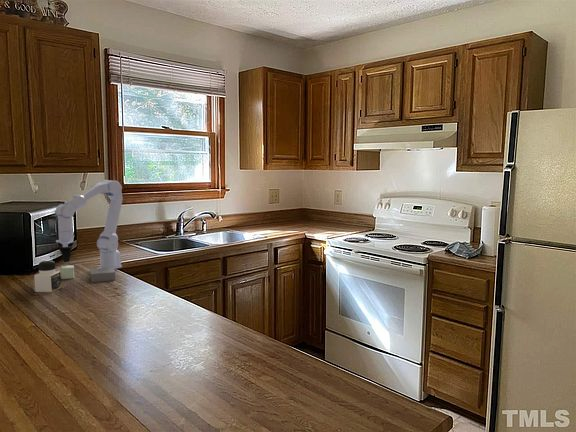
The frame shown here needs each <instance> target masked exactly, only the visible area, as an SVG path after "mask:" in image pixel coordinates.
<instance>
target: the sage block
mask: <svg viewBox="0 0 576 432" xmlns="http://www.w3.org/2000/svg"><path fill="white" fill-rule="evenodd" d="M60 276H61V280H68V279H74V278H75V265H61V267H60Z"/></svg>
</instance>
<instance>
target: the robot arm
mask: <svg viewBox="0 0 576 432" xmlns="http://www.w3.org/2000/svg"><path fill="white" fill-rule="evenodd" d="M122 190H123V186H122V185H121V183H120V181H118V180H114V179H113V180H109V179H103V180H101V181H99V182H97V183H96V184H95V185H94V186H93V187H91V188H90V189H89V190H87V191H85V192H84V193H83V194H82V195H81V194H75V195H73V196H72V198H70V199H68V200H66V201H64V204H63V203H61V204H59V205H57V206H56V208H55V210H54V214H55V215H56V216H57V225H58V226H57V229H58V230H57V231H58V239H56V240H55V243H59V245H60V246H58V251H60V253H61V256H62V260H63V263H69V262H70V260H71V253H72V250H73V247H74V246H73V245H74V237H73V236H74V232H73V216H74V215H75V213H76V212H77V211H78V210H80V209H81V208H83V207H84V206H85V205H87V201H89V200H90V199H92V198H94V197H96V196H97V195H100V194H104V195H106V196H107V197H108V198H109V200H110V201H109V206H108V210H107V215H106V220H105V224H104V229H103V231H102V232H101V233H100V234H99V237H98V239H97V241H96V247H97V248H98V249H99V258H100V261H99V262H100V264H99V265H100V267H97V268H96V269H98V268H111V267H114V270H116V269H120V268H122V267H123V265H122V262H121V261H122V260H121V259H122V257H121V252H120V251H119V250H118V247H119V236H118V234H117V229H118V222H119V218H120V214H121V208H122V204H123V200H124V198H123V193H122Z"/></svg>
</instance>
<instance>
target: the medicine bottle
mask: <svg viewBox="0 0 576 432" xmlns="http://www.w3.org/2000/svg"><path fill="white" fill-rule="evenodd" d="M33 278H34V279H33V280H34V292H36V293H53V292H55V291H57V290H59V289H61V287H62V282H61V281H62V279H61V270H60V271H59V270H58V271H57V270H56V262H55V261H53V260H43V261H40V262H39V263H38V273H36V274H34V277H33Z"/></svg>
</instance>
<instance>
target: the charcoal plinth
mask: <svg viewBox="0 0 576 432" xmlns="http://www.w3.org/2000/svg"><path fill="white" fill-rule="evenodd" d="M97 268H98V269H97ZM97 268H91V269H90V283H95V282H107V281H115V280H116V272H115V271H116V269H114V267H111V268H100V267H97Z"/></svg>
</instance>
